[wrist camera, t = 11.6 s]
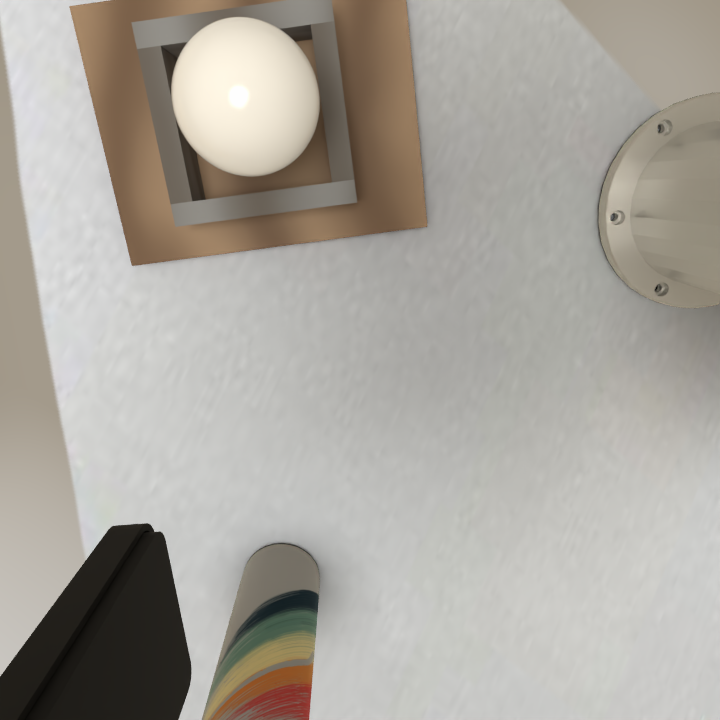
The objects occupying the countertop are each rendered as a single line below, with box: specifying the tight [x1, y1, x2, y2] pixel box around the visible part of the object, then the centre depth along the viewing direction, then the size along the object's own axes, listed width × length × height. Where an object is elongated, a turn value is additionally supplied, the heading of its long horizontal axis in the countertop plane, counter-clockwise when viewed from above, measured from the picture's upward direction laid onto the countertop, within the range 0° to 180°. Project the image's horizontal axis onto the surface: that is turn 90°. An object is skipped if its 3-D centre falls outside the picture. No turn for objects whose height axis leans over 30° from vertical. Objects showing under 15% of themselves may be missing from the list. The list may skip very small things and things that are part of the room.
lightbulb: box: [171, 17, 320, 177], centre depth 28 cm, size 6×6×11 cm
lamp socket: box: [69, 0, 427, 266], centre depth 32 cm, size 18×14×4 cm
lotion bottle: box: [202, 544, 320, 720], centre depth 34 cm, size 6×6×20 cm
